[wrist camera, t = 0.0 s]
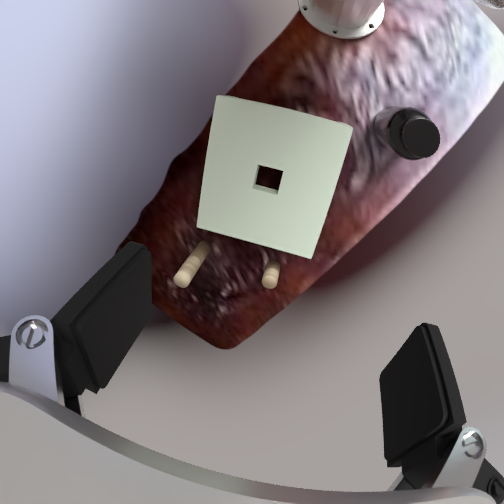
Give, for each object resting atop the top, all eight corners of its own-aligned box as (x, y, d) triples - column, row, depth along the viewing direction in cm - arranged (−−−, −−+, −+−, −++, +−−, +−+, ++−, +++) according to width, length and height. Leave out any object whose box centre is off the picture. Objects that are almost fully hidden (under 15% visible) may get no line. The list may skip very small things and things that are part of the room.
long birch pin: (198, 239, 52) (174, 272, 43) (211, 242, 52) (189, 277, 43) (197, 250, 54) (173, 284, 44) (210, 254, 53) (188, 289, 44)
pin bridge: (229, 95, 39) (216, 95, 34) (347, 124, 38) (353, 127, 32) (209, 212, 49) (196, 227, 44) (311, 240, 48) (311, 258, 43)
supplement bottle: (414, 151, 37) (446, 170, 27) (373, 148, 38) (393, 166, 28) (414, 107, 34) (448, 112, 23) (372, 104, 35) (394, 105, 25)
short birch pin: (268, 258, 51) (263, 274, 47) (281, 262, 51) (278, 278, 47) (265, 269, 53) (260, 286, 49) (278, 273, 53) (274, 290, 48)
